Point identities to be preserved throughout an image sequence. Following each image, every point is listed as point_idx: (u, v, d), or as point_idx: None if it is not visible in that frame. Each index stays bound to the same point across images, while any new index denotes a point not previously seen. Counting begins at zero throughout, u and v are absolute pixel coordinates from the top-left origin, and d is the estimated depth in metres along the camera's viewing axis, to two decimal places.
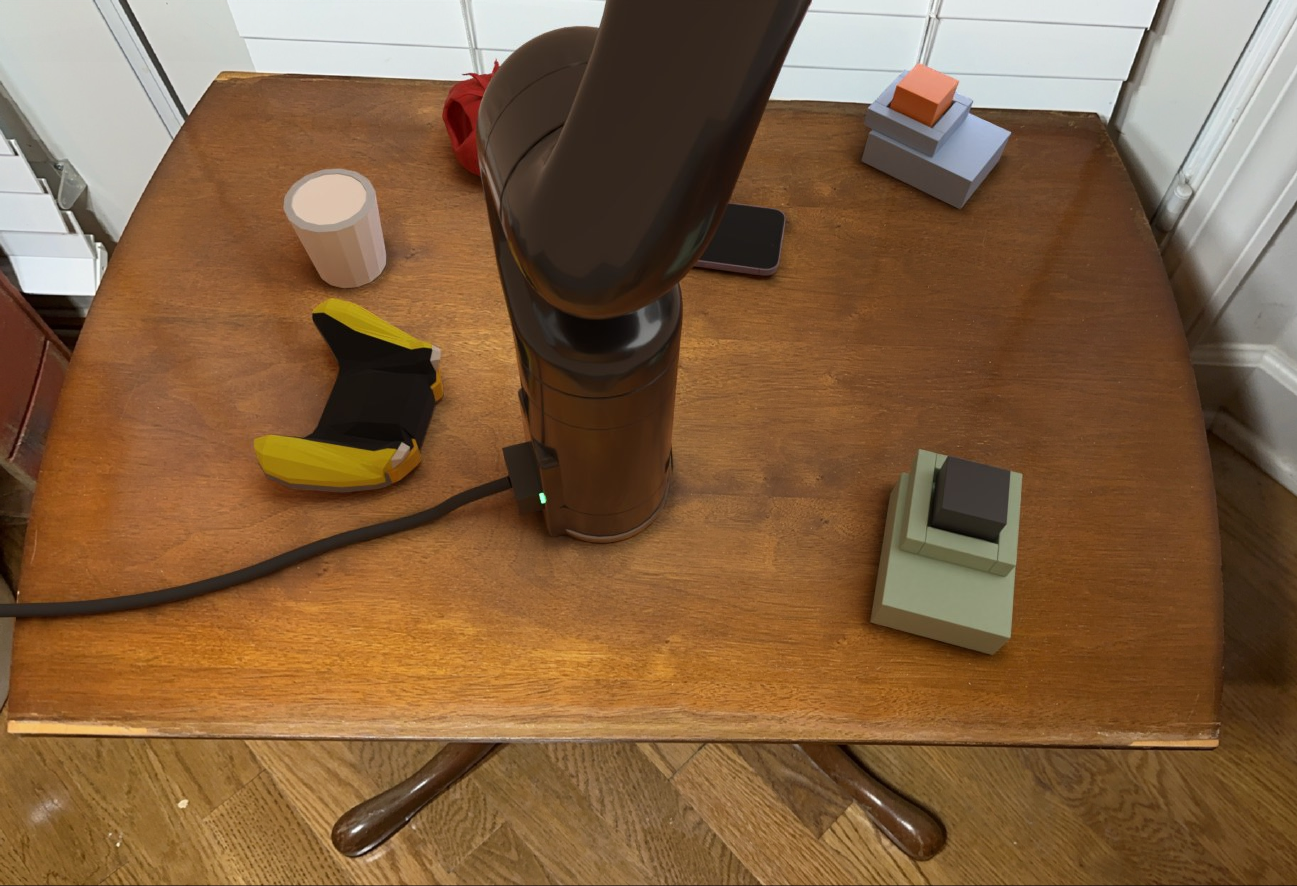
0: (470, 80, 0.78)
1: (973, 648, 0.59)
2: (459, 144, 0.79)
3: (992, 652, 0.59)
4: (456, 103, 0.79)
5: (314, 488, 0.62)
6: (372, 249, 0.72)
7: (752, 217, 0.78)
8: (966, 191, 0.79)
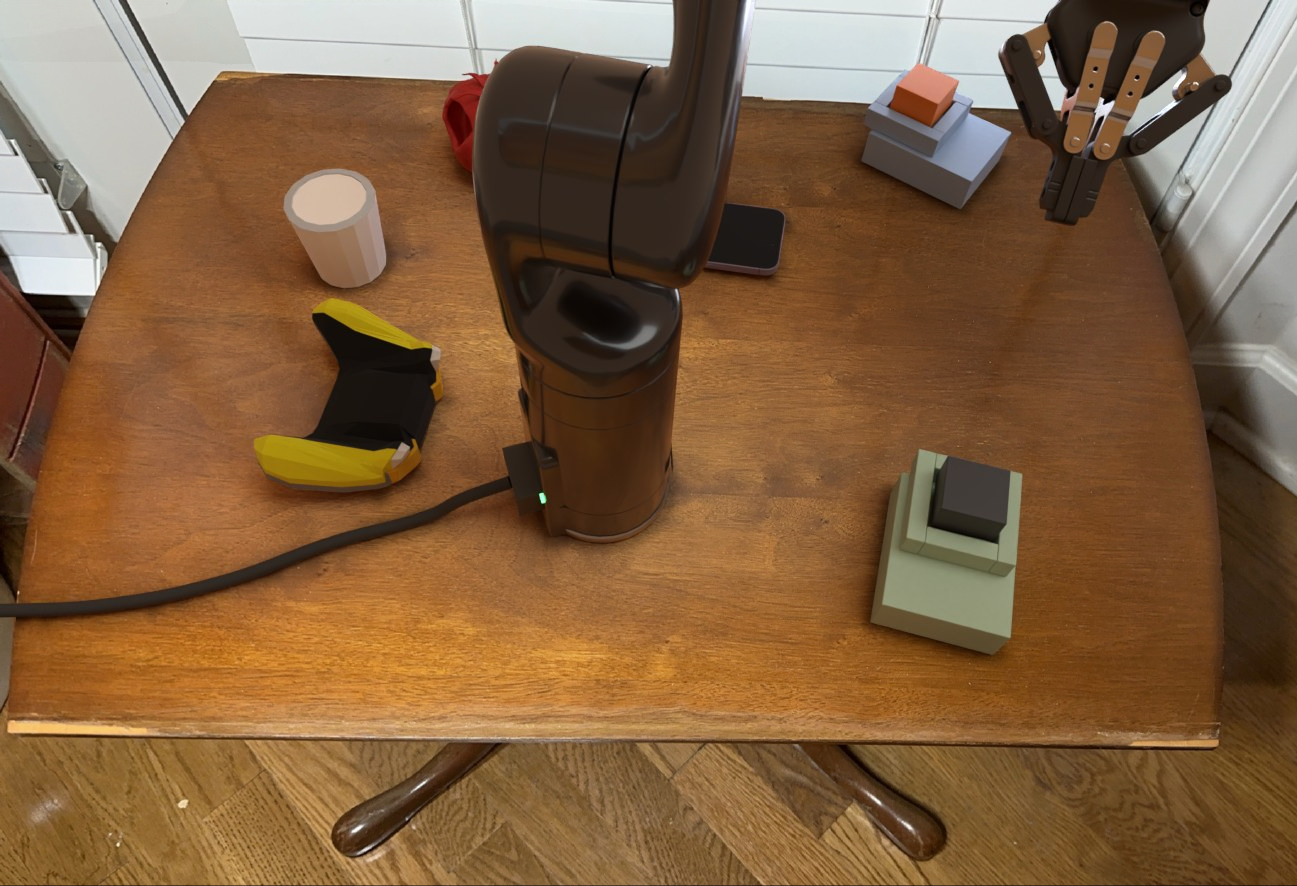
0: (470, 80, 0.78)
1: (973, 648, 0.59)
2: (459, 144, 0.79)
3: (992, 652, 0.59)
4: (456, 103, 0.79)
5: (314, 488, 0.62)
6: (372, 249, 0.72)
7: (752, 217, 0.78)
8: (966, 191, 0.79)
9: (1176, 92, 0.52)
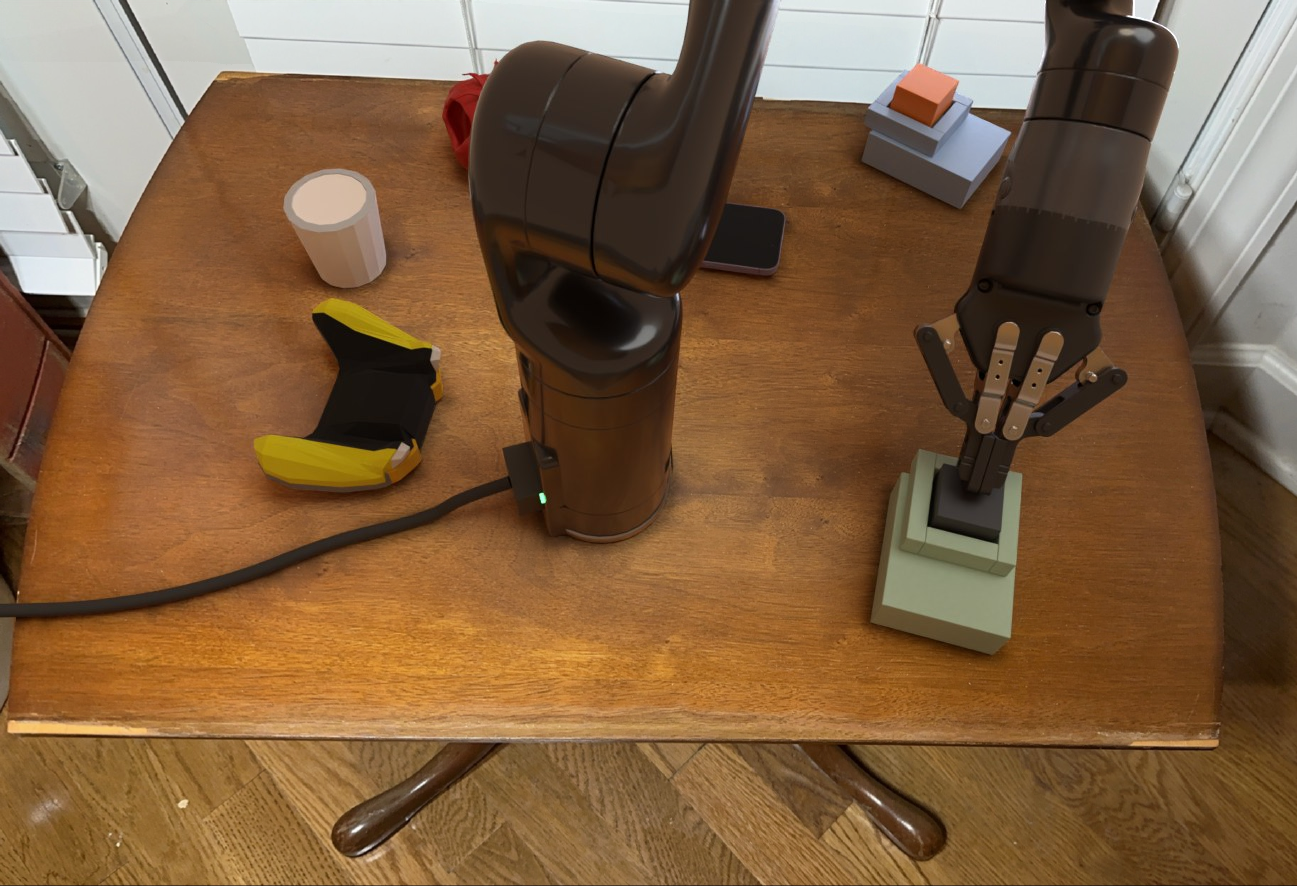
0: (470, 80, 0.78)
1: (973, 648, 0.59)
2: (459, 144, 0.79)
3: (992, 652, 0.59)
4: (456, 103, 0.79)
5: (314, 488, 0.62)
6: (372, 249, 0.72)
7: (752, 217, 0.78)
8: (966, 191, 0.79)
9: (1078, 378, 0.55)
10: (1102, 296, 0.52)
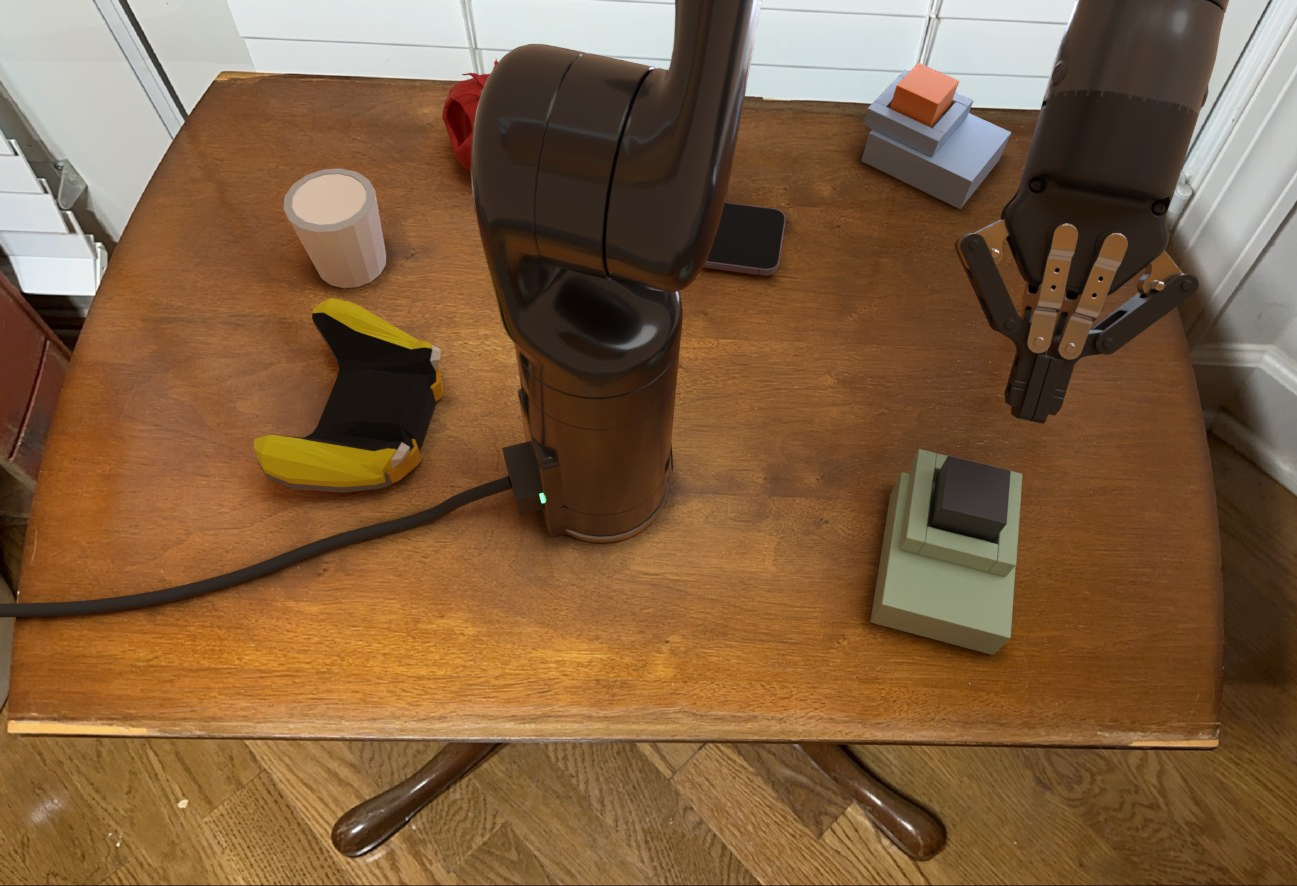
0: (470, 80, 0.78)
1: (973, 648, 0.59)
2: (459, 144, 0.79)
3: (992, 652, 0.59)
4: (456, 103, 0.79)
5: (314, 488, 0.62)
6: (372, 249, 0.72)
7: (752, 217, 0.78)
8: (966, 191, 0.79)
9: (1141, 288, 0.50)
10: (1171, 190, 0.47)
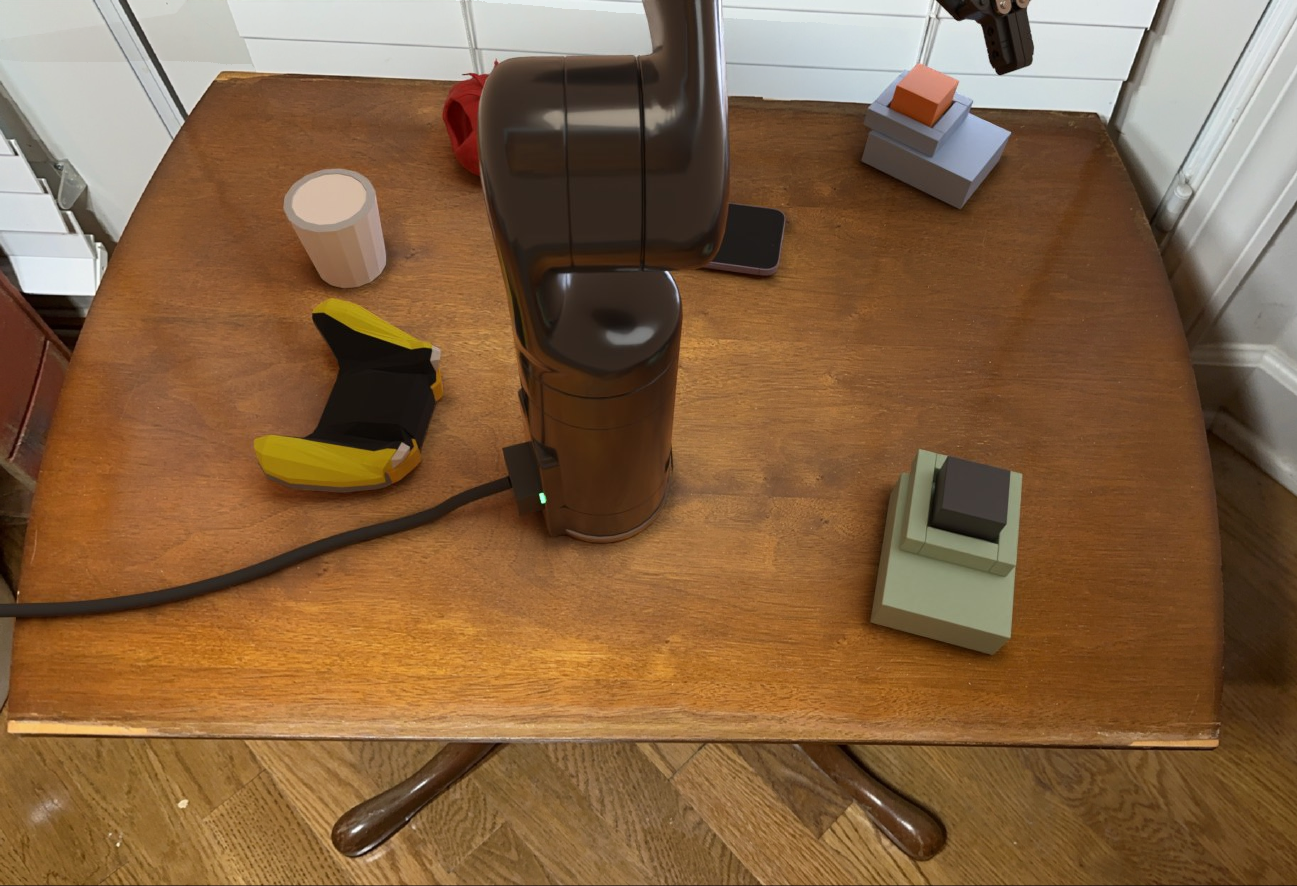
0: (470, 80, 0.78)
1: (973, 648, 0.59)
2: (459, 144, 0.79)
3: (992, 652, 0.59)
4: (456, 103, 0.79)
5: (314, 488, 0.62)
6: (372, 249, 0.72)
7: (752, 217, 0.78)
8: (966, 191, 0.79)
9: None
10: None
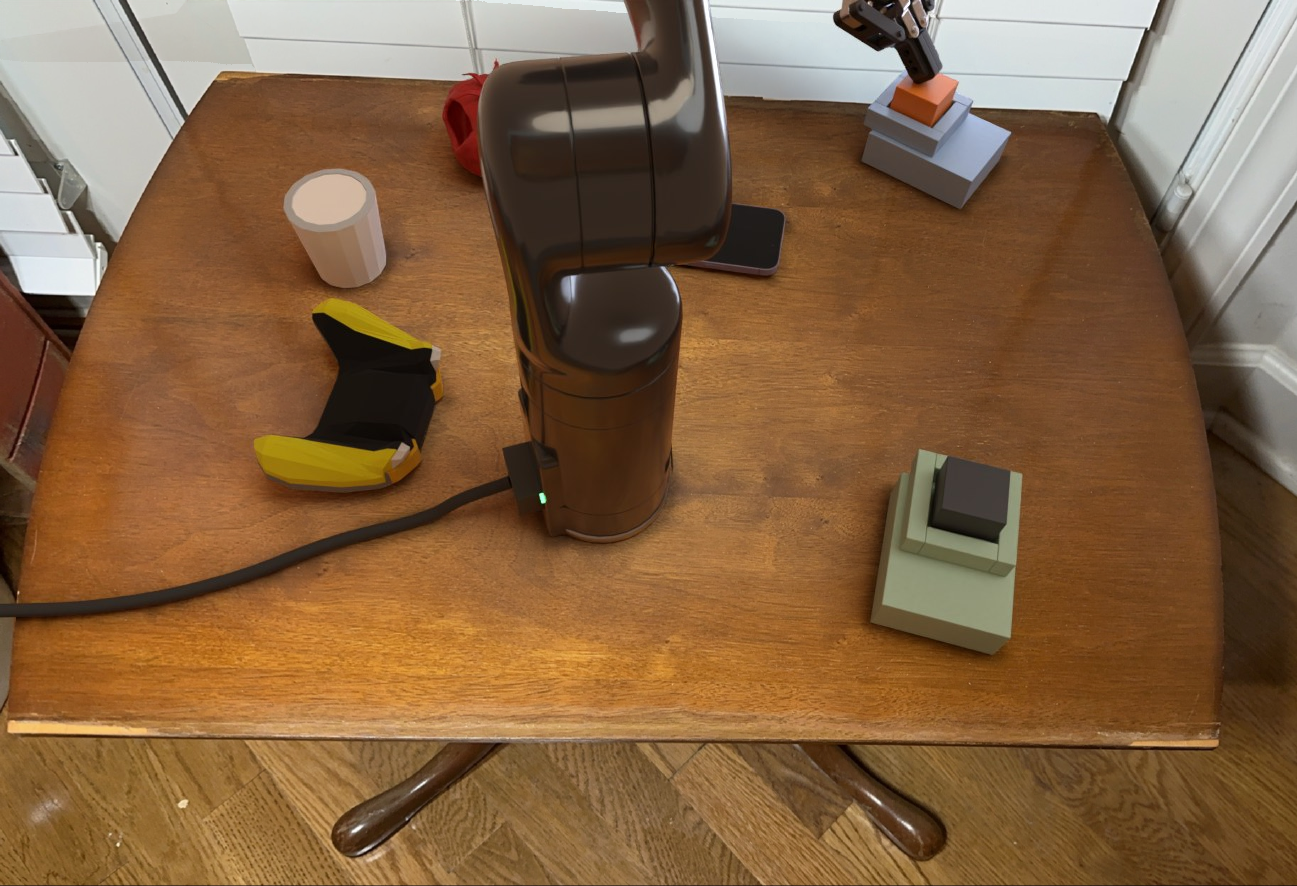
0: (470, 80, 0.78)
1: (973, 648, 0.59)
2: (459, 144, 0.79)
3: (992, 652, 0.59)
4: (456, 103, 0.79)
5: (314, 488, 0.62)
6: (372, 249, 0.72)
7: (752, 217, 0.78)
8: (966, 191, 0.79)
9: None
10: None
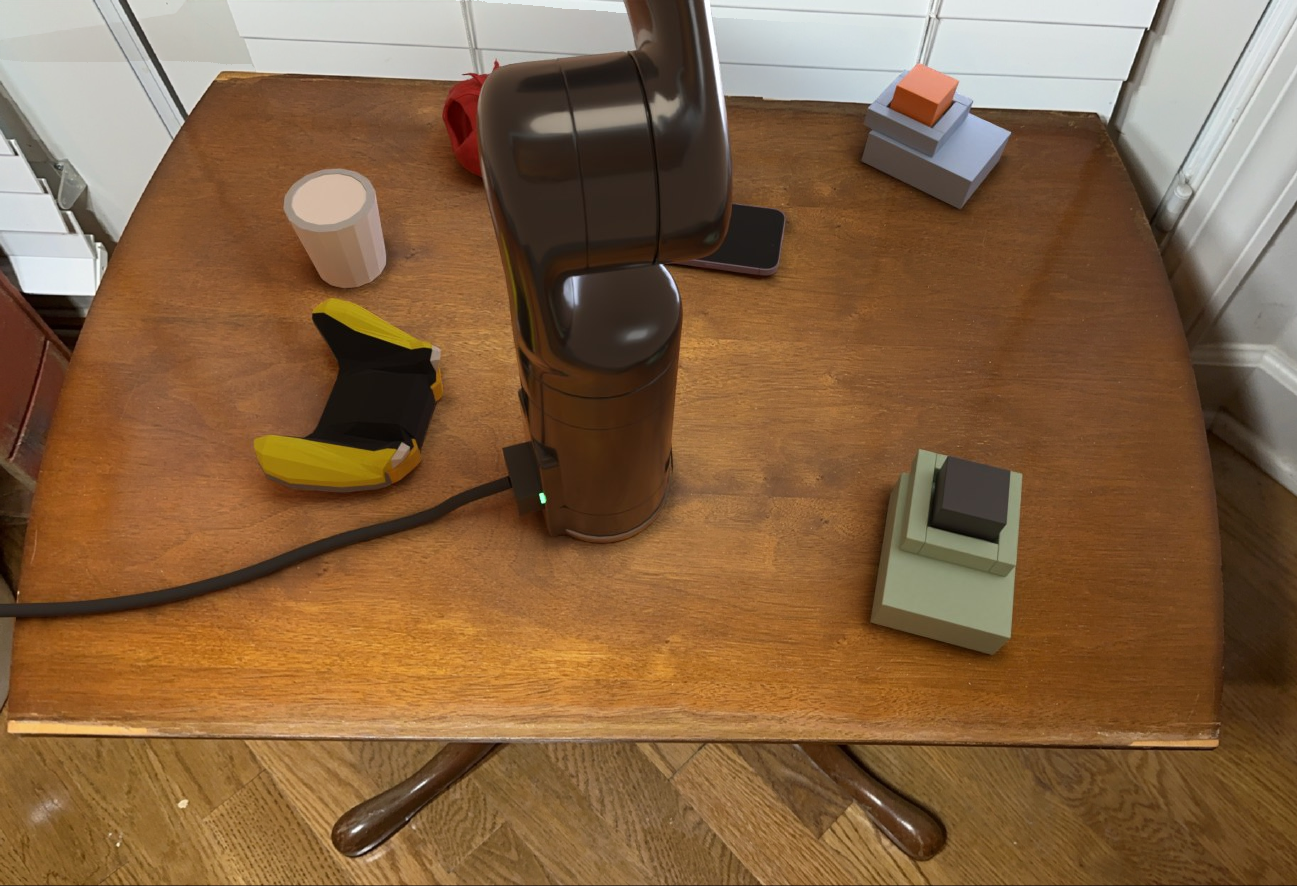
0: (470, 80, 0.78)
1: (973, 648, 0.59)
2: (459, 144, 0.79)
3: (992, 652, 0.59)
4: (456, 103, 0.79)
5: (314, 488, 0.62)
6: (372, 249, 0.72)
7: (752, 217, 0.78)
8: (966, 191, 0.79)
9: None
10: None
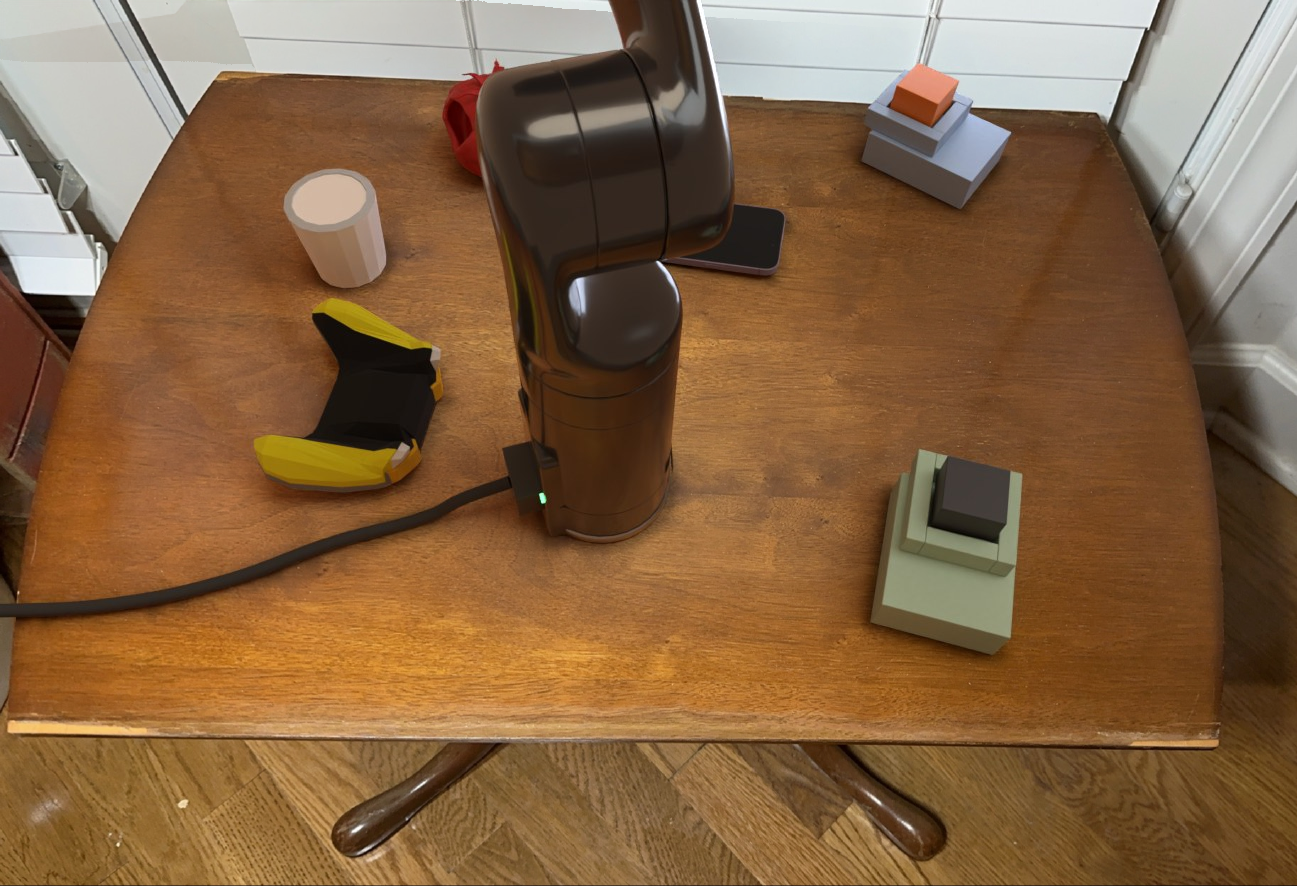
0: (470, 80, 0.78)
1: (973, 648, 0.59)
2: (459, 144, 0.79)
3: (992, 652, 0.59)
4: (456, 103, 0.79)
5: (314, 488, 0.62)
6: (372, 249, 0.72)
7: (752, 217, 0.78)
8: (966, 191, 0.79)
9: None
10: None
